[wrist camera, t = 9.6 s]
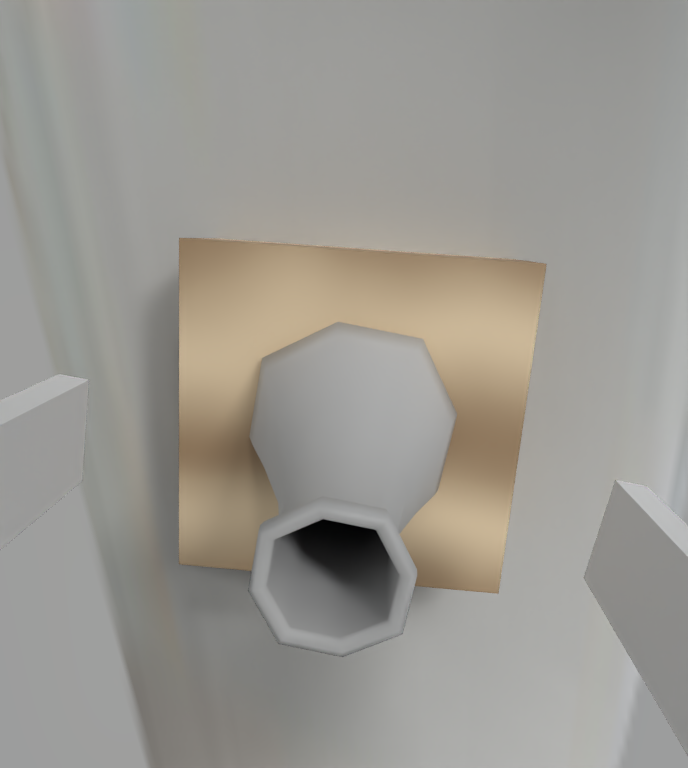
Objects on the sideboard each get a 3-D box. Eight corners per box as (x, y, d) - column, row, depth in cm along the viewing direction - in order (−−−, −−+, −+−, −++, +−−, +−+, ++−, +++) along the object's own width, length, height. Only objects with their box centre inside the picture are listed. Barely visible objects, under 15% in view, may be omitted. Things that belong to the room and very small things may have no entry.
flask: (233, 333, 20) (102, 420, 10) (447, 307, 20) (516, 373, 10) (266, 526, 22) (180, 756, 12) (464, 508, 21) (539, 733, 12)
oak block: (218, 238, 24) (179, 237, 20) (512, 258, 24) (546, 264, 19) (214, 506, 27) (178, 564, 22) (476, 529, 27) (498, 593, 22)
